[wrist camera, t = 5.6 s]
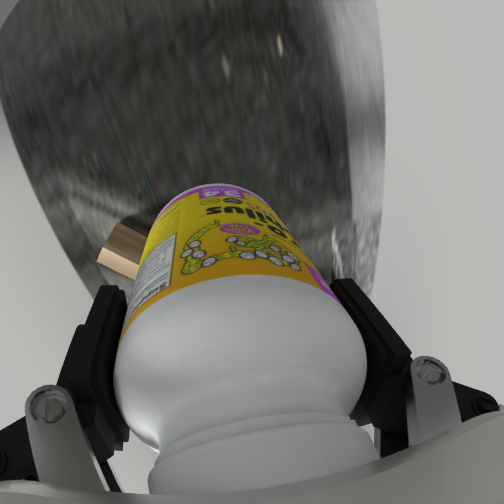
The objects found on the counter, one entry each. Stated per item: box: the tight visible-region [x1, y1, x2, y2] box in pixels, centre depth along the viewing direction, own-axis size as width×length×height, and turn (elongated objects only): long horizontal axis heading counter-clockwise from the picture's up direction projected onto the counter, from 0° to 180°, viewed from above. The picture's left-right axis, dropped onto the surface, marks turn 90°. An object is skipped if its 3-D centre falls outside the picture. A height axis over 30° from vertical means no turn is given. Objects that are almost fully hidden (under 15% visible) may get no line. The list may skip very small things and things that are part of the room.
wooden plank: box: [97, 222, 148, 280], centre depth 29 cm, size 2×18×6 cm, turn 56°
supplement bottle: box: [113, 184, 380, 495], centre depth 10 cm, size 7×7×13 cm
